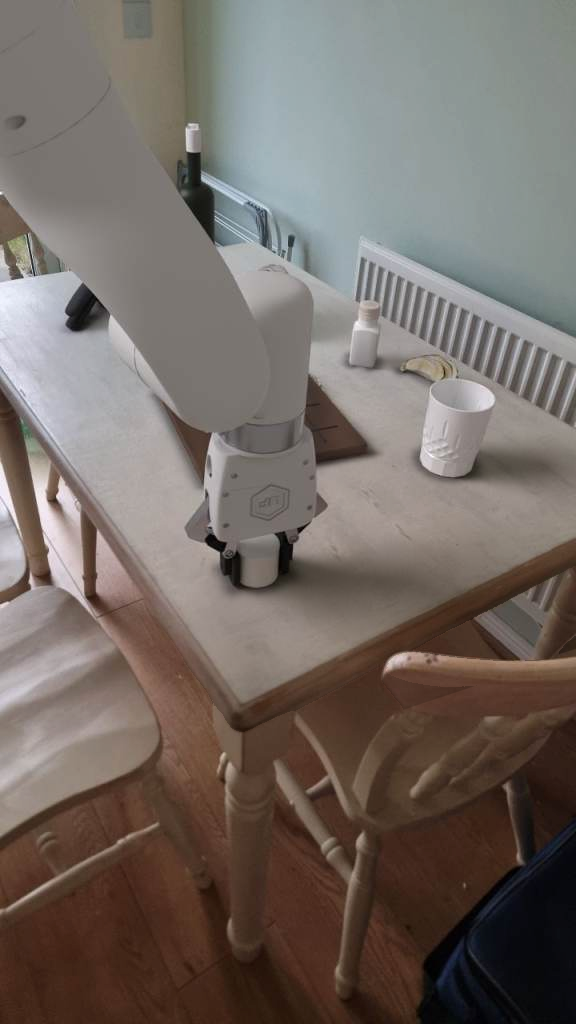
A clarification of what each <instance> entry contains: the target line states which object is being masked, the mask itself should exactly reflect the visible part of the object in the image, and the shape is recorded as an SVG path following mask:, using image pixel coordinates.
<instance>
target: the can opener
mask: <svg viewBox="0 0 576 1024" xmlns="http://www.w3.org/2000/svg"><path fill="white" fill-rule="evenodd" d="M98 302H99V299H98V298H97V297H96V296H95V295H94V294H93V293H92V291H91V290H90V289H89V288H88V287H87V286H86V285H85V284H84V283H83V282H81V284H80V285H79V286H78V288H77V289H76V291H74V293H73V294H72V296H71V298H70V299H69V301H68V303H67V305H66V307H65V308H64V314H65V315H66V316H68V318H67V320H66V321H65V324H64V325H65V327H66V328H68V329H69V330H77V329H79V328H80V327H81V326H82V325H83V323H84V322H85V321H86V320H87V318H88V317H89V315H90V313H92V311H93V308H94V307H95V306H96V304H97V303H98Z"/></svg>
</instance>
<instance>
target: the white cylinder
mask: <svg viewBox="0 0 576 1024" xmlns="http://www.w3.org/2000/svg"><path fill="white" fill-rule="evenodd" d="M237 551H238V553H239V556H240V560H241V561H240V583H239V584H241V585H243V586H246V587H248V588H255V589H257V588H264V587H268V586H269V585H272V584H273V583H274V582H275V581H276V580H277V578H278V576H279V553H280V542H279V539H278V538H277V536H276V535H275V534H269V535H264V536H260V537H255V538H250V539H246V540H241V541H239V543H238V546H237Z"/></svg>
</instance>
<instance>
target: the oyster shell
mask: <svg viewBox="0 0 576 1024" xmlns="http://www.w3.org/2000/svg"><path fill="white" fill-rule="evenodd" d="M399 371H401V372H403V373H405V372H411V373H415V374H417V375H419V376H421V377H423V378H425V379H427V380H428V381H430V382H432V383H433V384H434V383H435V382H437V381H440V380H444V379H459V375H458V373H459V369H458V367H457V365H456V362H455V361H453V360H451V359H449V358H447V357H446V356H442V355H440V354H422V355H420V356H416V357H412V358H410V359H407V360H404V361H403V362H402V363H401V365H400V367H399Z"/></svg>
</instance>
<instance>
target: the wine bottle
mask: <svg viewBox="0 0 576 1024" xmlns="http://www.w3.org/2000/svg"><path fill="white" fill-rule="evenodd" d="M185 152H186V161H187V162H186V163H187V165H186V166H187V181H185V182H184V183H181V184H180V185H179V186H178V187H177V188H176V189H177V190H178V192H179V194H180V195H181V197H182V198H183V200H184V201H185V203H186V204H187V206H188V207H189V209H190V210H191V212H192V213H193V215H194V216H195V217H196V219H197V220H198V222H199V223H200V224H201V226H202V227H203V229H204V230H205V232H206V233H207V235H208V236H209V238H210V239H211V241H212V242H213V244H214V245H215V246H216V225H215V224H216V223H215V222H216V221H215V220H216V219H215V218H216V217H215V215H216V214H215V211H216V210H215V193H214V190H213V189H212V187H211V186H210V185H208V184H206V183H205V182H202V153H201V152H202V128H201V127H200V123H189V122H188V123H187V125H186V127H185Z"/></svg>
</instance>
